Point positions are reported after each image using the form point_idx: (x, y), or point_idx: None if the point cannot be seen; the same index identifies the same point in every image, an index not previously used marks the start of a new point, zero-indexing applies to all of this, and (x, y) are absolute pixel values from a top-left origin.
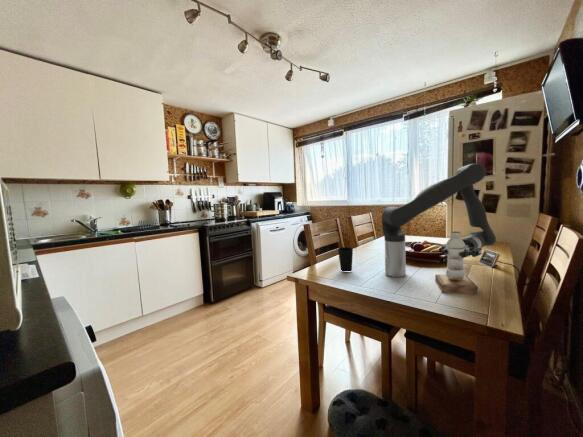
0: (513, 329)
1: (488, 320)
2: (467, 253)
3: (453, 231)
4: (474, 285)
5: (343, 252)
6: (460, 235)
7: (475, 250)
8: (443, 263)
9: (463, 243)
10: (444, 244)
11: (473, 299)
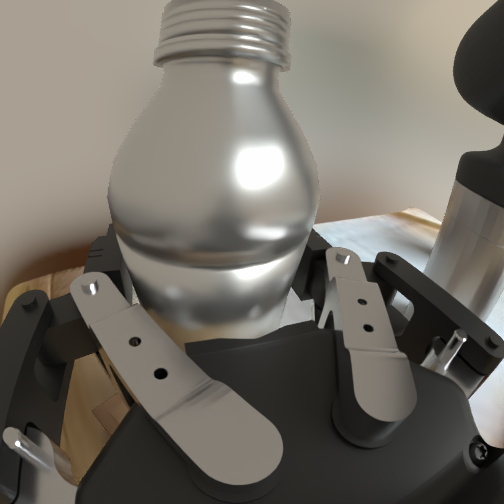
0: (12, 289)
1: (48, 290)
2: (89, 261)
3: (283, 8)
4: (107, 416)
5: None
6: (159, 43)
7: (14, 316)
8: None
9: (118, 151)
10: (475, 317)
11: (98, 371)
